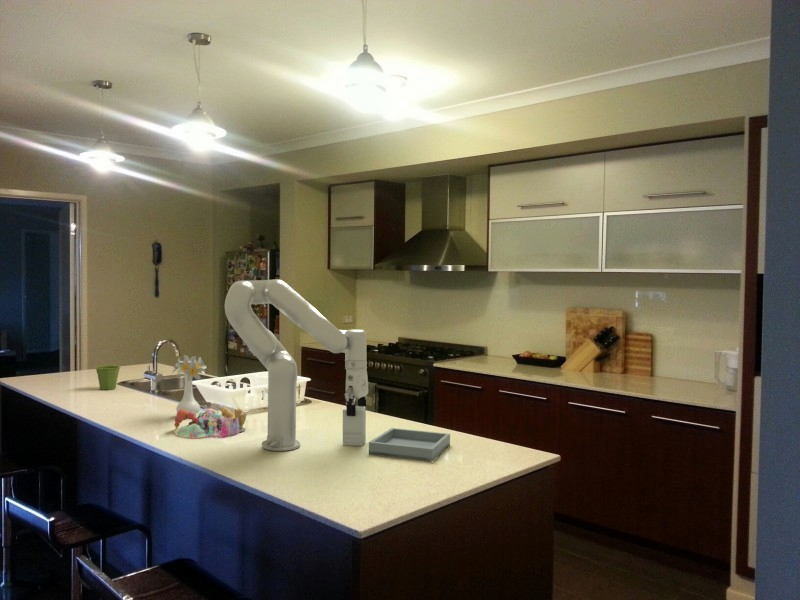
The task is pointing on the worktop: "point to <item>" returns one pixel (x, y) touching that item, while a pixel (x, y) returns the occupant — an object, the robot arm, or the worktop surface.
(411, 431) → the tray
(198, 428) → the candy landscape model
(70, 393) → the worktop surface
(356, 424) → the supplement box
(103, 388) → the plant pot
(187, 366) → the flower vase
